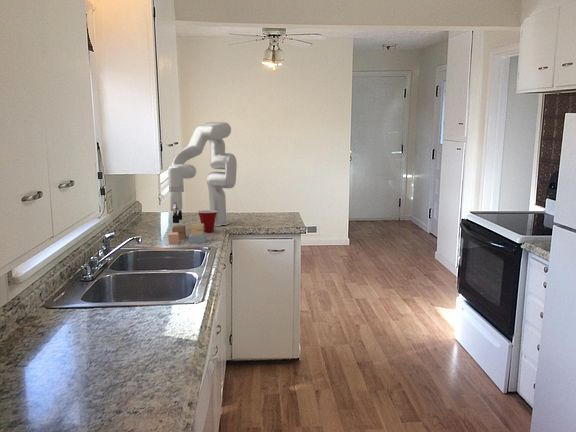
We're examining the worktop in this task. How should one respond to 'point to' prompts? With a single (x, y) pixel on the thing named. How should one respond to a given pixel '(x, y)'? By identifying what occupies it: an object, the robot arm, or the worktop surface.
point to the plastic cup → (207, 220)
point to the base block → (197, 239)
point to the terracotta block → (173, 238)
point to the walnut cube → (180, 231)
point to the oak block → (197, 229)
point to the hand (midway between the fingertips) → (177, 221)
